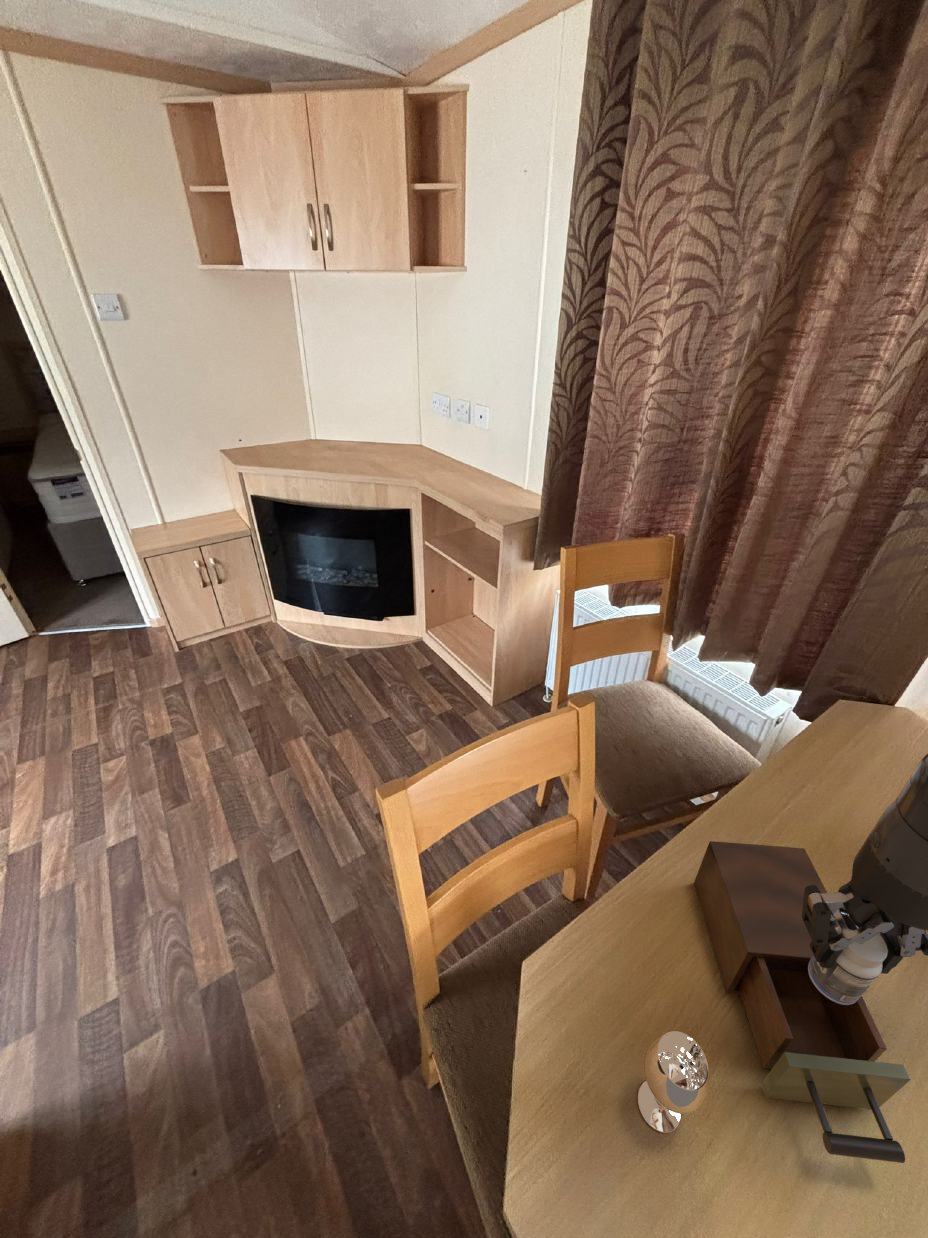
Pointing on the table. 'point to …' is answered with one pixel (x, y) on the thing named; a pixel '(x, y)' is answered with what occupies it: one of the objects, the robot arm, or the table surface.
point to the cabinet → (754, 904)
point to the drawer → (820, 1052)
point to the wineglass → (672, 1081)
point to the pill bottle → (850, 970)
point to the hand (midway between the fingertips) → (848, 960)
